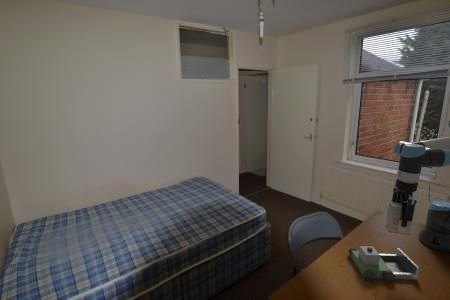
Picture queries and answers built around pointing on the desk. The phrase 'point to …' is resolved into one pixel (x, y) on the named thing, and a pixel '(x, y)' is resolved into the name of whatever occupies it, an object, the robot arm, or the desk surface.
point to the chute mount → (401, 265)
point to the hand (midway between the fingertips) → (397, 228)
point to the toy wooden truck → (370, 263)
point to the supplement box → (396, 218)
